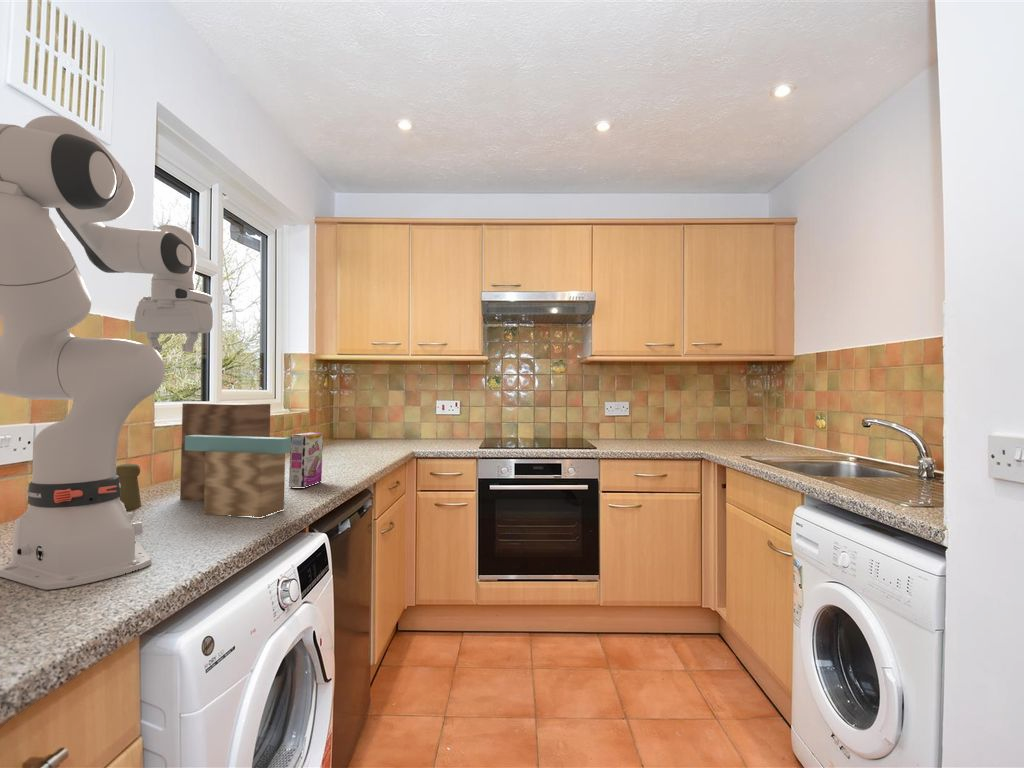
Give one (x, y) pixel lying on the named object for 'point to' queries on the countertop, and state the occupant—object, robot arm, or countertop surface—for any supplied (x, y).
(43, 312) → the robot arm
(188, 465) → the walnut stand
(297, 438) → the candy bar box
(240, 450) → the teal bar
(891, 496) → the countertop surface
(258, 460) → the oak block
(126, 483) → the cork
